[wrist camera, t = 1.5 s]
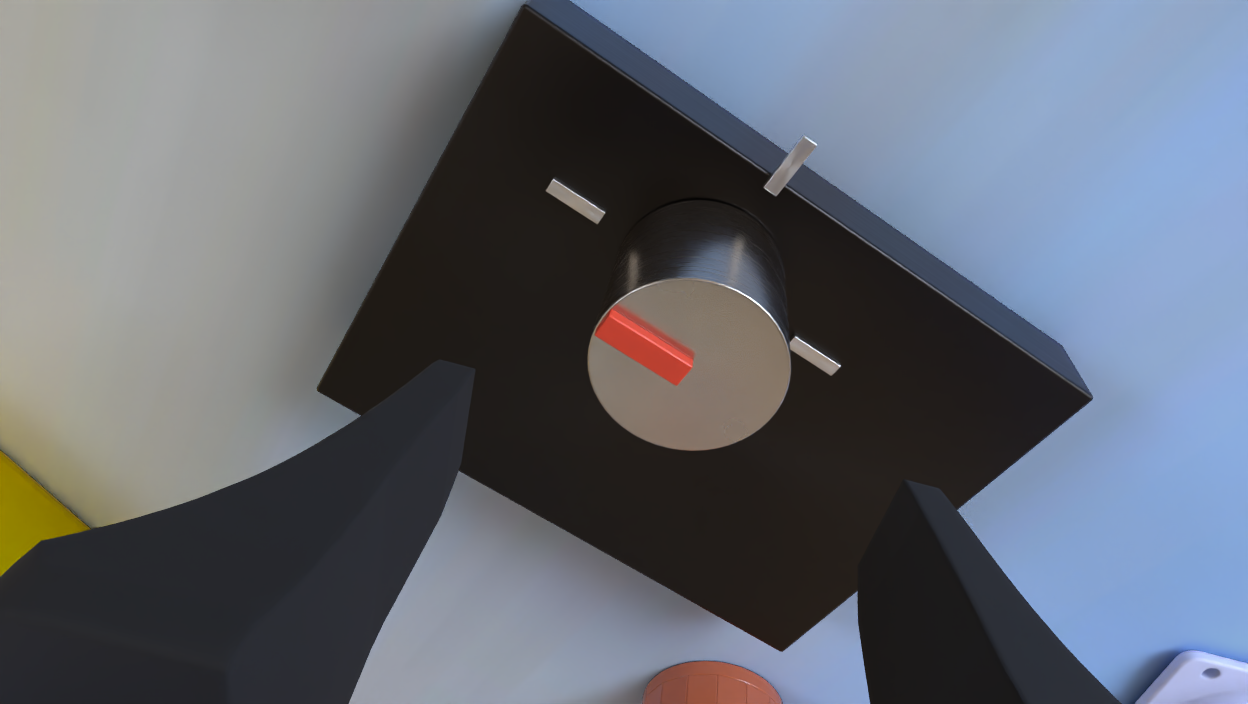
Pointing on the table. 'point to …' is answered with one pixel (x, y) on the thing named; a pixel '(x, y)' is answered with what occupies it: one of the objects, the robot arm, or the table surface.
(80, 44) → the table surface
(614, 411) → the dial
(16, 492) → the element tile
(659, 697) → the orange stave barrel
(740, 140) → the warming plate
